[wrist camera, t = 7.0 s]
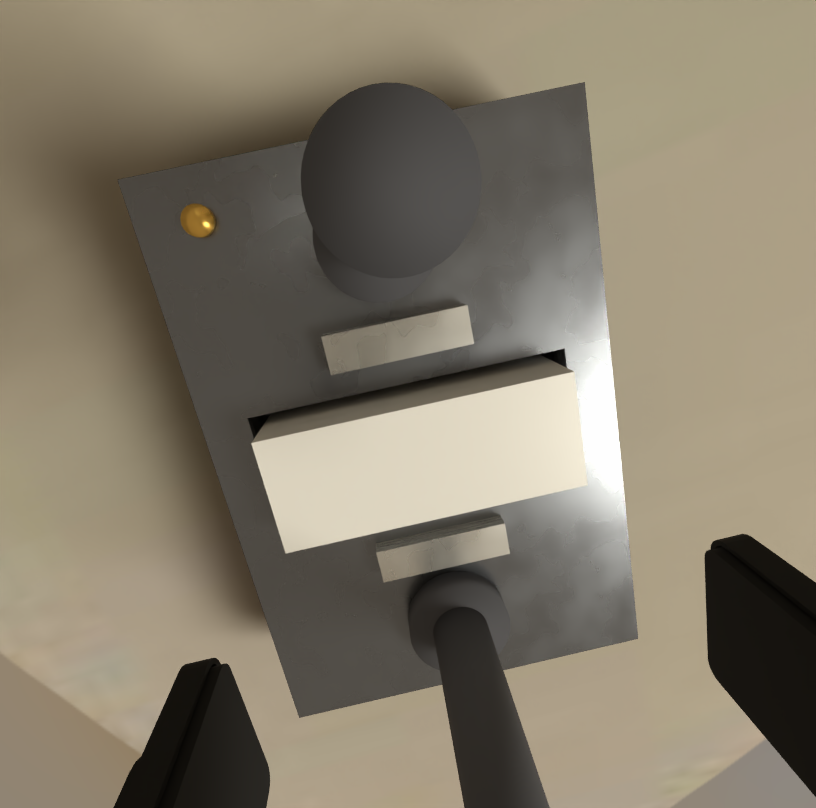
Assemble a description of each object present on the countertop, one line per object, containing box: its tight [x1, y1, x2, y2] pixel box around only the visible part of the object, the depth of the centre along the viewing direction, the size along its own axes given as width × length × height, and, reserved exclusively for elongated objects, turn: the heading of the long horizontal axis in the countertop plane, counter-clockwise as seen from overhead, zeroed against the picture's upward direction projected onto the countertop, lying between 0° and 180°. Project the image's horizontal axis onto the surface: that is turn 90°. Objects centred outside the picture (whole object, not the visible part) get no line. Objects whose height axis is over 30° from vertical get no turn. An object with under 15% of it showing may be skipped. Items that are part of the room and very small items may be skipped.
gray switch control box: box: [118, 82, 638, 718], centre depth 25 cm, size 26×18×7 cm
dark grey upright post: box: [301, 83, 482, 303], centre depth 14 cm, size 5×5×13 cm
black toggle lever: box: [408, 571, 549, 808], centre depth 18 cm, size 5×5×13 cm
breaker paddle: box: [251, 354, 588, 553], centre depth 24 cm, size 5×13×7 cm, turn 102°
